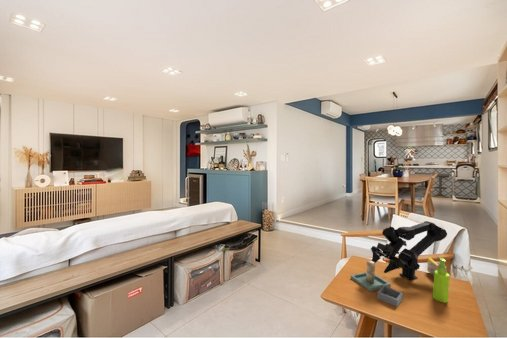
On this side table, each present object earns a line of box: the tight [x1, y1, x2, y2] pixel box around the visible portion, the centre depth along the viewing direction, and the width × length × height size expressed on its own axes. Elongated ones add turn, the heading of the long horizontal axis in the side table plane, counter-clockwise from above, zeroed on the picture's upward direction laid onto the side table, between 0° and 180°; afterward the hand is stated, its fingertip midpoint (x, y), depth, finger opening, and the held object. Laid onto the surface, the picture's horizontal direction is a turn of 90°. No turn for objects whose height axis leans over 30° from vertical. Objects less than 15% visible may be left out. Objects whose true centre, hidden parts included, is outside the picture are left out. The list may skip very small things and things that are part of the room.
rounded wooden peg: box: [365, 260, 376, 284], centre depth 131 cm, size 4×4×11 cm
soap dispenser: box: [432, 256, 451, 303], centre depth 117 cm, size 6×7×20 cm
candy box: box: [426, 257, 439, 277], centre depth 138 cm, size 16×2×8 cm, turn 168°
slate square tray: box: [376, 286, 404, 308], centre depth 116 cm, size 9×9×4 cm
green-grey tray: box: [350, 271, 392, 292], centre depth 131 cm, size 14×14×2 cm
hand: (377, 268), depth 132 cm, fingers open, 9 cm apart
